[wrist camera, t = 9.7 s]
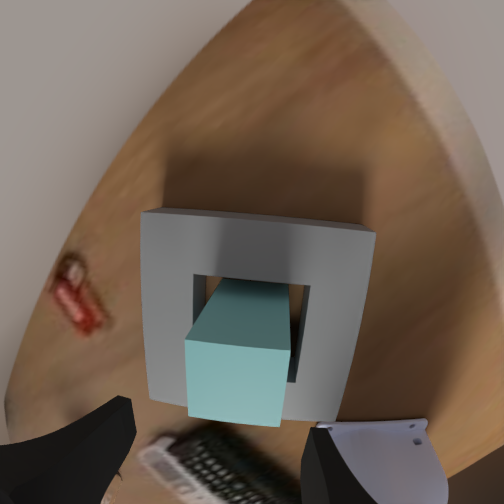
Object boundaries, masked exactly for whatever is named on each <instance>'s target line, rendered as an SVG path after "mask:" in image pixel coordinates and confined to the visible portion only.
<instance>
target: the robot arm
mask: <svg viewBox="0 0 504 504" xmlns="http://www.w3.org/2000/svg"><path fill="white" fill-rule="evenodd" d="M412 424H413V425H412ZM410 425H411V426H410ZM427 425H428V421H427V419H425V418H422V419H411V420H397V421H375V422H320V423H318V424H317V425H316V427H311V428H310V431H309V435H308V439H307V442H306V445H305V449H304V452H303V456H302V459H301V480H300V481H301V494H302V504H447V501H448V482H447V478H446V475H445V472H444V470H443V468H442V466H441V463H440V461H439V459H438V457H437V455H436V452H435V450H434V448H433V446H432V444H431V442H430V440H429V437H428V435H427V433H426V431H425V429H426V427H427ZM328 427H331V428H328ZM136 433H137V431H136V426H135V420H134V414H133V408H132V402H131V399H129V398H126V397H122V396H119V395H118V396H116V397H115V398H113V399H111V400H110V401H108V402H107V403H105V404H104V405H102V406H100V407H99V408H97V409H96V410H94V411H92V412H91V413H89V414H87V415H86V416H84V417H82V418H81V419H79V420H77V421H75V422H73V423H71V424H69V425H67V426H66V427H64V428H61V429H59V430H57V431H55V432H52V433H50V434H47V435H44V436H41V437H38V438H35V439H31V440H27V441H24V442H19V443H14V444H9V445H0V504H101V501H102V499H103V497H104V494H105V492H106V490H107V489H108V487H109V485H110V483H111V482H112V480H113V478H114V477H115V475H116V473H117V472H118V470H119V468H120V466H121V465H122V463H123V461H124V460H125V458H126V456H127V454H128V453H129V451H130V448H131V446H132V444H133V441H134V438H135V436H136Z"/></svg>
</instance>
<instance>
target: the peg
mask: <svg viewBox="0 0 504 504" xmlns="http://www.w3.org/2000/svg"><path fill="white" fill-rule="evenodd" d="M290 352H291V344H290V314H289V289H288V284H280V283H268V282H256V281H244V280H232V279H222V280H221V281H220V283H219V285H218V286H217V288H216V289H215V291H214V293H213V294H212V296H211V297H210V299H209V301H208V302H207V304H206V306H205V307H204V309H203V310H202V312H201V314H200V315H199V317H198V318H197V320H196V322H195V323H194V325H193V327H192V328H191V330H190V331H189V333H188V335H187V336H186V338H185V363H186V383H187V400H188V414H189V416H192V417H198V418H204V419H211V420H217V421H225V422H233V423H241V424H250V425H261V426H273V427H280V422H281V415H282V409H283V402H284V395H285V389H286V382H287V374H288V367H289V360H290Z"/></svg>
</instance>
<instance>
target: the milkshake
mask: <svg viewBox="0 0 504 504" xmlns="http://www.w3.org/2000/svg"><path fill="white" fill-rule="evenodd" d="M121 484H122V480H121V477H120V476H119V475H118V474H117V473H116V475H115V477H114V478H113V480H112V482H111V483H110V485H109V487H108V489H107V490H106V492H105V494H104V497H103V499H102V501H101V504H113V503H114V501H115V498H116V496H117V493H118V491H119V488H120V486H121Z"/></svg>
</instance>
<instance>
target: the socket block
mask: <svg viewBox="0 0 504 504" xmlns="http://www.w3.org/2000/svg"><path fill="white" fill-rule="evenodd" d="M375 239H376V232H374V231H373V230H371V229H369V228H367V227H366V226H364V225H361V224H352V223H343V222H334V221H324V220H315V219H305V218H294V217H283V216H272V215H261V214H249V213H237V212H224V211H210V210H196V209H181V208H164V207H161V208H156V209H152V210H148V211H144V212H141V241H140V251H141V296H142V317H143V333H144V346H145V358H146V369H147V378H148V387H149V396H150V399H152V400H156V401H161V402H165V403H170V404H175V405H180V406H185V407H188V400H187V383H186V363H185V338H186V336H187V335H188V333H189V331H190V330H191V328H192V327H193V325H194V323H195V322H196V320H197V318H198V317H199V315H200V314H201V312H202V310H203V309H204V307H205V289H206V275H208V276H218V277H227V278H237V279H247V280H257V281H267V282H277V283H288V284H299V285H305V286H304V294H303V302H302V309H301V316H300V323H299V330H298V337H297V344H296V350H295V357H290V360H289V367H288V374H287V382H286V389H285V395H284V402H283V409H282V415H281V419H284V420H300V421H324V422H335V421H336V417H337V414H338V411H339V407H340V404H341V401H342V397H343V394H344V390H345V386H346V383H347V379H348V375H349V371H350V367H351V363H352V359H353V355H354V351H355V347H356V343H357V338H358V334H359V329H360V324H361V320H362V315H363V310H364V305H365V300H366V294H367V289H368V283H369V278H370V272H371V266H372V259H373V253H374V246H375Z"/></svg>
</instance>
